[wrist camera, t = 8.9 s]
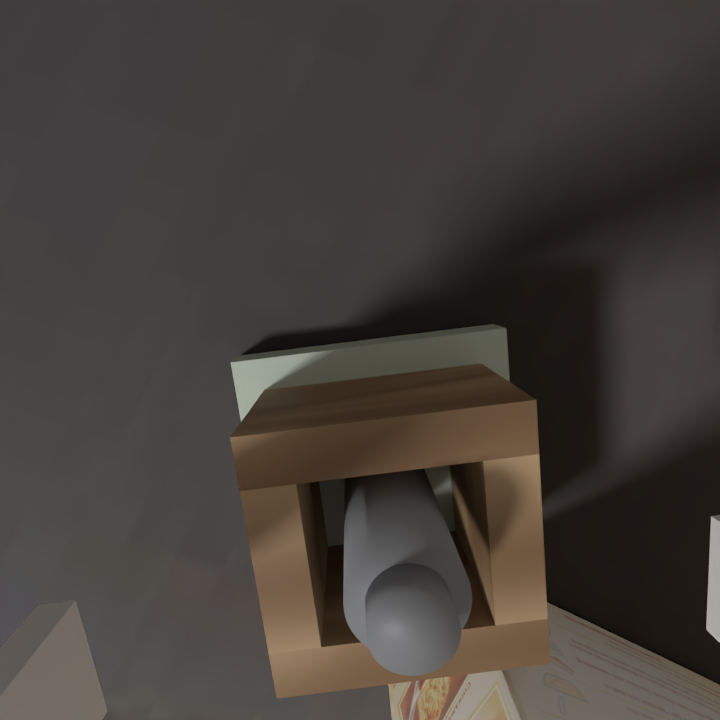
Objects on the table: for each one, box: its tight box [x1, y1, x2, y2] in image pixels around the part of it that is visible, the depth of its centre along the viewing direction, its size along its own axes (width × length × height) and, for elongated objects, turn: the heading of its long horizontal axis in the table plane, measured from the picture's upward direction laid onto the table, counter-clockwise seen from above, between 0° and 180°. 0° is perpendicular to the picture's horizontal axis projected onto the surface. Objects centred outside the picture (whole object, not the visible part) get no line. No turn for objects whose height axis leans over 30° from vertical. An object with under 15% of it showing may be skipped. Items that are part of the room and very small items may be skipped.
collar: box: [230, 364, 550, 698], centre depth 15 cm, size 8×8×5 cm
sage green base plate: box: [231, 324, 510, 676], centre depth 14 cm, size 10×10×10 cm
